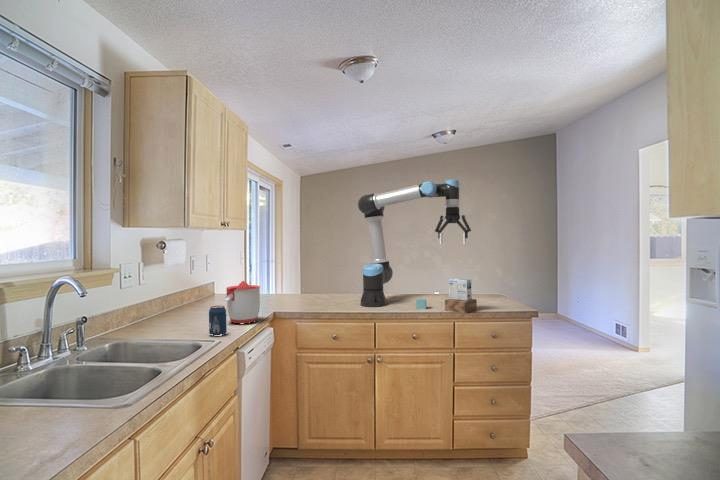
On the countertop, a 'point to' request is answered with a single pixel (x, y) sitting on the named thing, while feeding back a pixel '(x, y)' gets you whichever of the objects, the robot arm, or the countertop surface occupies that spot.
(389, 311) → the countertop surface
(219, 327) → the soda can
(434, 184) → the robot arm
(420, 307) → the teal block
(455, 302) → the walnut block
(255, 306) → the citrus juicer
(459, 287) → the light bulb box
